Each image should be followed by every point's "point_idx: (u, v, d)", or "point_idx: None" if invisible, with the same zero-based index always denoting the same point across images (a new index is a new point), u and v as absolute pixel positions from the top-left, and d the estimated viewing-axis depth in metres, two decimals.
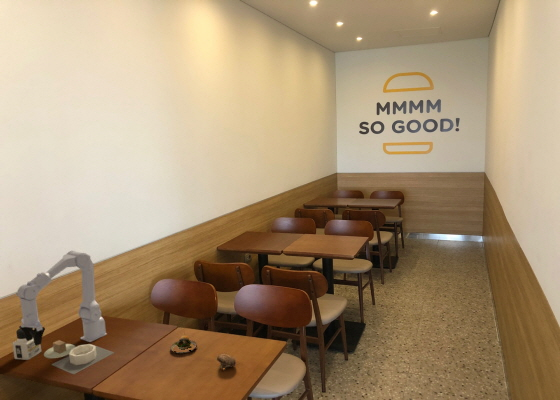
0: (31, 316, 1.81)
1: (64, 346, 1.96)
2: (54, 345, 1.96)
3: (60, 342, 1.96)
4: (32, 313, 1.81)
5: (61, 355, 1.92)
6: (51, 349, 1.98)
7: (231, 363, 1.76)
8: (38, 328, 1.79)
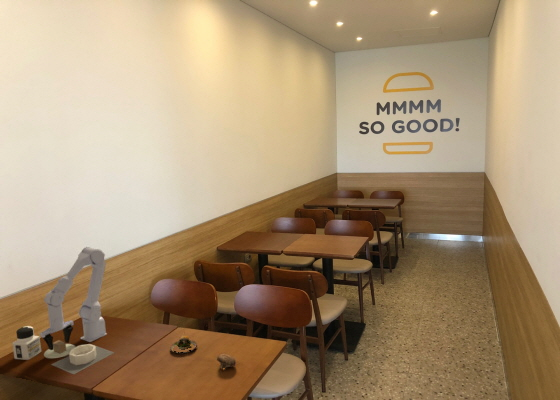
0: (49, 321, 1.93)
1: (64, 346, 1.96)
2: (54, 345, 1.96)
3: (60, 342, 1.96)
4: (58, 318, 1.92)
5: (61, 355, 1.92)
6: None
7: (231, 363, 1.76)
8: (40, 334, 1.89)
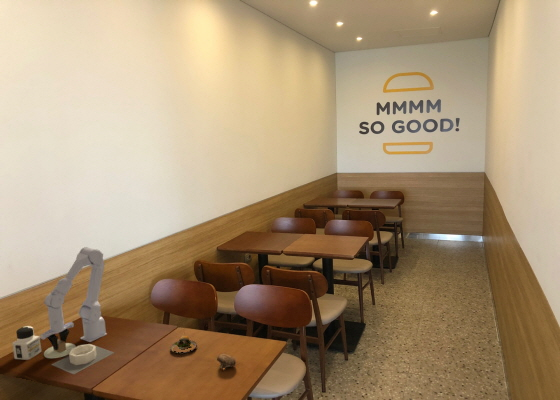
0: None
1: (64, 345, 1.96)
2: None
3: (60, 341, 1.96)
4: (58, 320, 1.92)
5: (61, 354, 1.92)
6: (51, 348, 1.98)
7: (231, 363, 1.76)
8: (41, 336, 1.89)
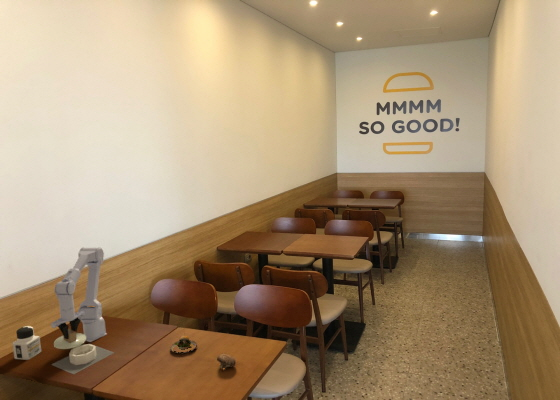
0: (60, 311, 1.88)
1: (74, 335, 1.91)
2: None
3: (70, 331, 1.91)
4: (72, 307, 1.88)
5: (71, 344, 1.87)
6: (61, 338, 1.93)
7: (231, 363, 1.76)
8: (51, 325, 1.84)
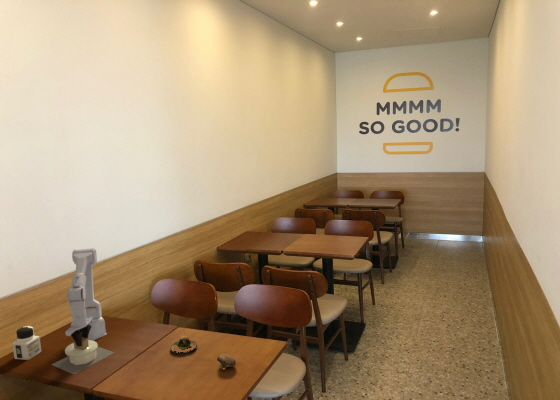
0: (72, 319, 1.84)
1: (87, 342, 1.88)
2: None
3: (82, 338, 1.88)
4: (85, 313, 1.86)
5: (86, 351, 1.85)
6: (70, 346, 1.89)
7: (231, 363, 1.76)
8: (66, 333, 1.80)
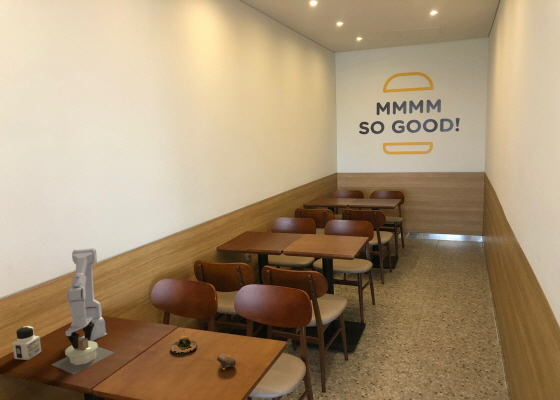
0: (72, 319, 1.84)
1: (87, 342, 1.88)
2: None
3: (82, 339, 1.88)
4: (85, 313, 1.86)
5: (86, 351, 1.85)
6: (70, 348, 1.89)
7: (231, 363, 1.76)
8: (66, 333, 1.80)
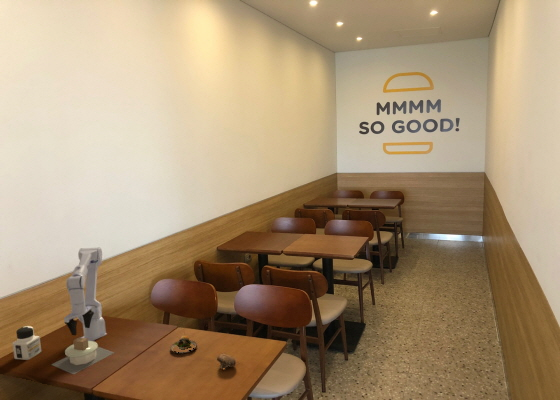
0: (71, 306, 1.90)
1: (87, 342, 1.88)
2: (75, 343, 1.87)
3: (82, 339, 1.88)
4: (84, 301, 1.91)
5: (86, 351, 1.85)
6: (70, 348, 1.89)
7: (231, 363, 1.76)
8: (64, 319, 1.86)
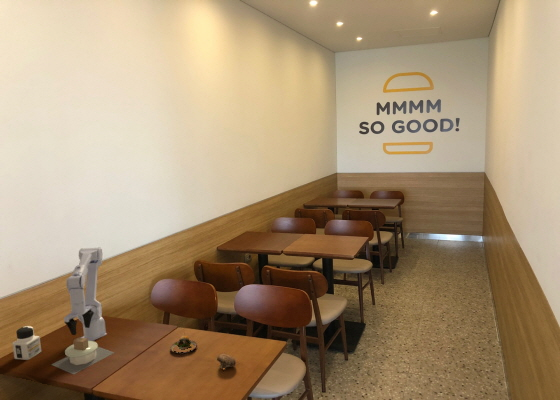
0: (71, 306, 1.90)
1: (87, 342, 1.88)
2: (75, 343, 1.87)
3: (82, 339, 1.88)
4: (84, 301, 1.92)
5: (86, 351, 1.85)
6: (70, 348, 1.89)
7: (231, 363, 1.76)
8: (64, 319, 1.86)
